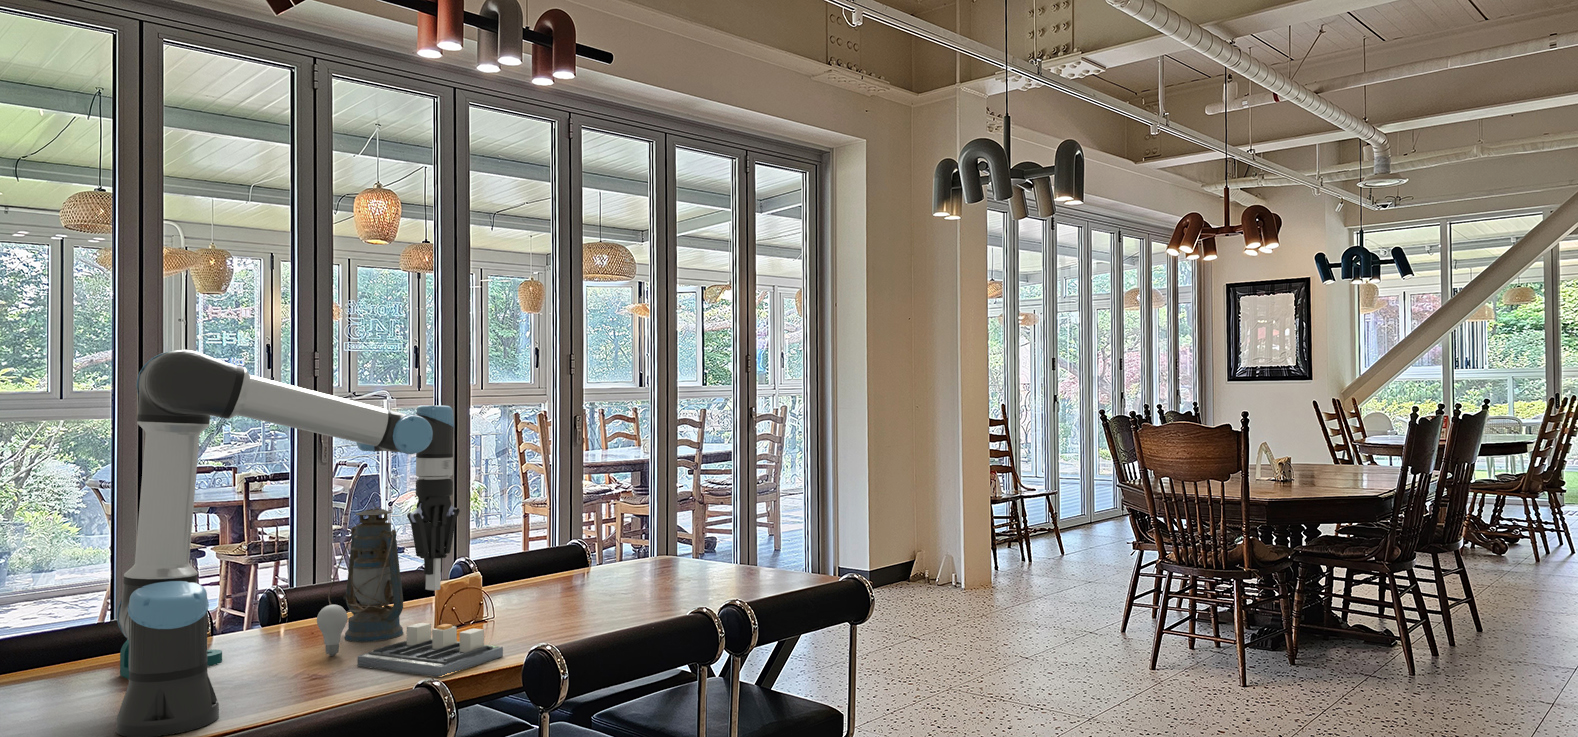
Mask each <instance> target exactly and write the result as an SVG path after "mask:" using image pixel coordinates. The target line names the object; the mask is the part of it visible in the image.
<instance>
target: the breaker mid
mask: <svg viewBox="0 0 1578 737" xmlns="http://www.w3.org/2000/svg"><path fill="white" fill-rule="evenodd" d="M457 630H458V629H457V626H455V625H454V626H453V624H452V623H451V624H449V623H442V624H440V625H436V628H433V629H432V628H431V638H432V648H434V649H439V648H442V647H445V646H449V645H452V644H455V643H457V641H458V638H457V637H458V635H457V634H458V633H457V632H458V631H457Z"/></svg>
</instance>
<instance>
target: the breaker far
mask: <svg viewBox="0 0 1578 737" xmlns="http://www.w3.org/2000/svg"><path fill="white" fill-rule="evenodd" d="M431 638H432V623H428V622H427V623H425V622H419V623H415V624H410V625H407V626H406V640H407V645H415V644H418V643H422V642H425V641H428V640H431Z"/></svg>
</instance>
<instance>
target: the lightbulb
mask: <svg viewBox="0 0 1578 737" xmlns="http://www.w3.org/2000/svg"><path fill="white" fill-rule="evenodd" d="M348 619H349V617H348V613H346V610H345V609H344V607H343V606H341V605H338V604H332V605H330V604H329V605H326V606H324V607H322V608H321V610H320V611H319V612H318V614H317V617H316V624H317V627H318V628H319V630H320V632H321V634H322V637H323V643H324V646H325V653H326V655H329V657H333V656H336V654H338V653H339V651H340V643H341V637H342V633H343V630H344V629H345V628H346V625H347V622H348Z"/></svg>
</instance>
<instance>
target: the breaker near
mask: <svg viewBox="0 0 1578 737" xmlns="http://www.w3.org/2000/svg"><path fill="white" fill-rule="evenodd" d="M459 642H460V652H467V651H470V650H473V649H477V648H480V647H483V646H484V645H485V629H483V628H482V629H481V628H469V629H466V630H463V631H460V632H459Z"/></svg>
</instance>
